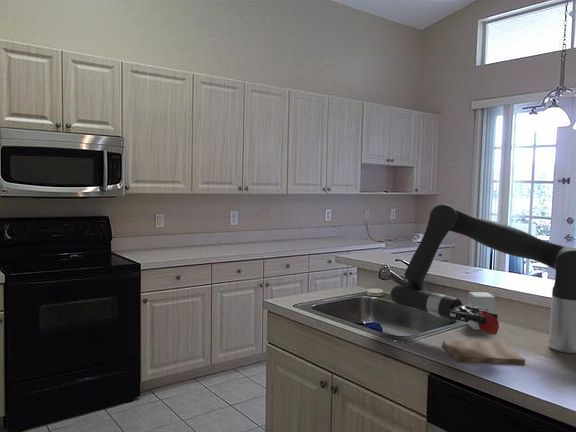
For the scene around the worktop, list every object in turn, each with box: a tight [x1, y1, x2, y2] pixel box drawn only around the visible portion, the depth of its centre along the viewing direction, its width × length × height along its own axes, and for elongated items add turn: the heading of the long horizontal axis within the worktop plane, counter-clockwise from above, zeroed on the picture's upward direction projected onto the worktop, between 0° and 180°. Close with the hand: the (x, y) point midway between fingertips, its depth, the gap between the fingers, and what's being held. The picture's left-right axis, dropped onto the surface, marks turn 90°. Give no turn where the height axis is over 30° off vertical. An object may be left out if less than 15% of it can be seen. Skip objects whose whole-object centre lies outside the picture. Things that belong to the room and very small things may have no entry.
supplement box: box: [466, 291, 496, 331], centre depth 179 cm, size 7×7×13 cm
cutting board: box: [442, 339, 526, 365], centre depth 150 cm, size 20×15×2 cm
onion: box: [478, 312, 500, 336], centre depth 148 cm, size 6×6×8 cm
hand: (491, 319), depth 147 cm, fingers closed on onion, 5 cm apart
